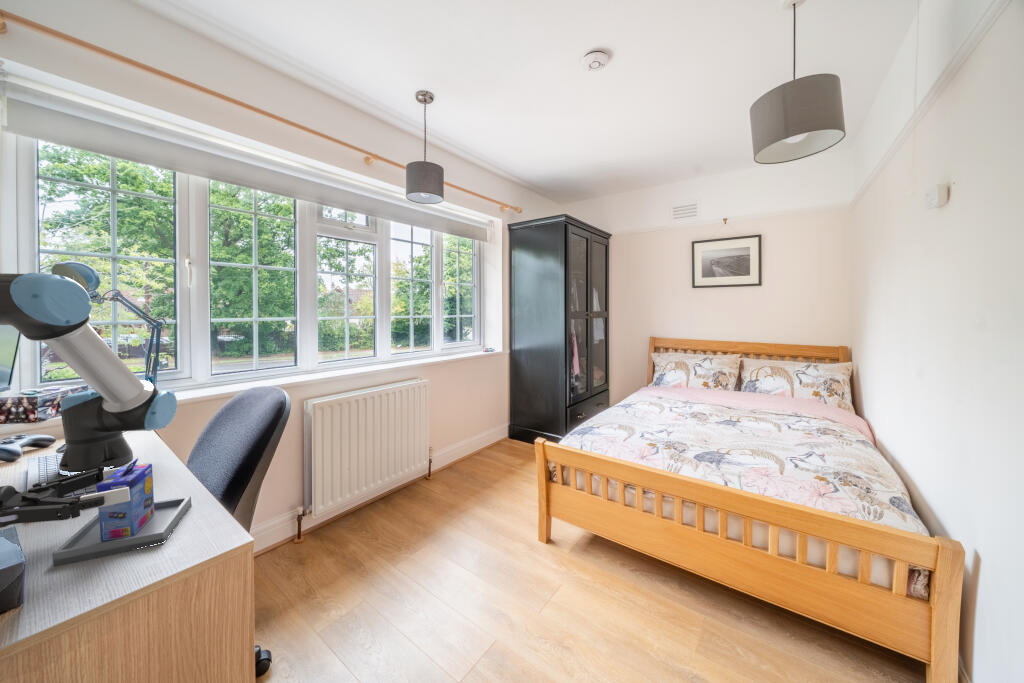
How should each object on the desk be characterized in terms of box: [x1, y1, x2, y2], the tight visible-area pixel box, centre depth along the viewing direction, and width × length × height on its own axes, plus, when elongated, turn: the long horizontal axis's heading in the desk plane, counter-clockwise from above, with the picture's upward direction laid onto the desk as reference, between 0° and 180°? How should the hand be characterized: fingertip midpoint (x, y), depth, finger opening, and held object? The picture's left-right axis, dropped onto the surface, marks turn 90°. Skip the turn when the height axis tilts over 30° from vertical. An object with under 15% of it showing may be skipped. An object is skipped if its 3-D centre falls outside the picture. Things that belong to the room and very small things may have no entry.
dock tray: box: [51, 495, 192, 567], centre depth 81 cm, size 16×16×2 cm
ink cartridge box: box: [96, 457, 155, 542], centre depth 80 cm, size 10×6×14 cm, turn 24°
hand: (137, 480), depth 81 cm, fingers open, 13 cm apart
